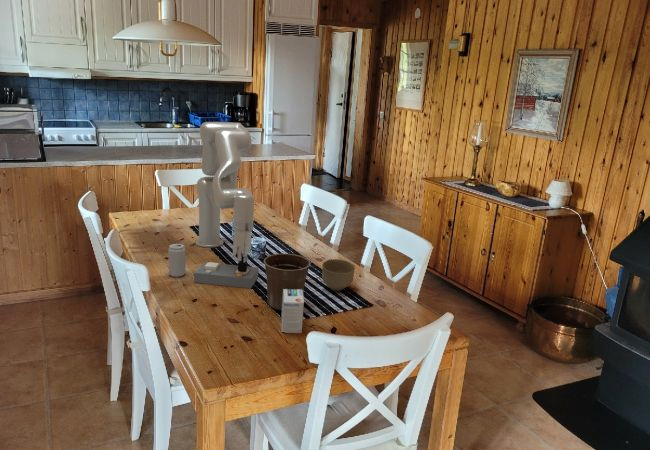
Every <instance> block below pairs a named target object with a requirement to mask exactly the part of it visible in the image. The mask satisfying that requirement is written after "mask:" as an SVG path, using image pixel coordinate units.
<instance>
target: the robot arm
mask: <svg viewBox="0 0 650 450" xmlns="http://www.w3.org/2000/svg"><path fill="white" fill-rule="evenodd" d="M199 136H200V139H201V142H202V155H201V172H202V174H204V175H205V176H203V177H200V178H199V179H198V180H197V181H196V190H197V199H198V238H197V239H196V240H195V245H196V246H198V247H200V248H207V249H208V248H218V247H221V246H222V245H224V240H223V239H222V238H221V209H222V210H224V209H225V210H226V209H227V210H228V209H233V211H232V212H233V213H232V214H233V216H232V220H233V221H232V223H233V224H232V230H233V231H234V232H233V234H234V235H233V244H232V257H236V255H237V265H238V272H246V271H247V266H248V254H249V252H250V251H251V247H252V231H253V230H254V215H255V214H254V211H255V210H254V209H255V196H254V194H252V192H251V191H250V189H248V188H245V187H244V188H237V185H238V175H239V174H238V172H239V169H240V168H241V167H242V165H243V164H242V163H243V162H242V159H241V155H240V151H248V150H250V149H251V146H252V135H251V134H250V132H249V130H248V129H247V128H246V127H245V126H243V124H241V123H240V122H231V121H230V122H228V121H225V122H224V121H205V122H202V124H201V125H200V126H199Z"/></svg>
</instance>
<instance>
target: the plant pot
mask: <svg viewBox="0 0 650 450" xmlns="http://www.w3.org/2000/svg"><path fill="white" fill-rule="evenodd" d="M263 263H264V266H265V267H264V268H265V274H266V291H267V294H266V295H267V297H266V298H267V304H268V305H269V307H271V308H272V309H274V310H279V311H282V298H283V289H301V290H303V293H304V291H305V286H306V285H305V284H306V280H307V277H308V272H309V267H311V261H310V259H308V258H307V257H304V256H302V255H298V254H294V253H293V254H292V253H275V254H271V255H268V256H266V257H265V258H264V259H263Z"/></svg>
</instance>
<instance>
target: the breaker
mask: <svg viewBox="0 0 650 450" xmlns="http://www.w3.org/2000/svg"><path fill="white" fill-rule="evenodd" d="M219 264H220V262H212V261H211V262H210V261H209V262H208V263H207V264H206V265H205V270H211V271H217V270H218V269H219Z"/></svg>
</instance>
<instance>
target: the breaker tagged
mask: <svg viewBox="0 0 650 450" xmlns="http://www.w3.org/2000/svg"><path fill="white" fill-rule="evenodd" d="M248 272H249V269H247V271H246V272H238V269H237V271H236V272H235V273H236V274H237V273H242V274H245V275H247V274H248Z"/></svg>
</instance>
